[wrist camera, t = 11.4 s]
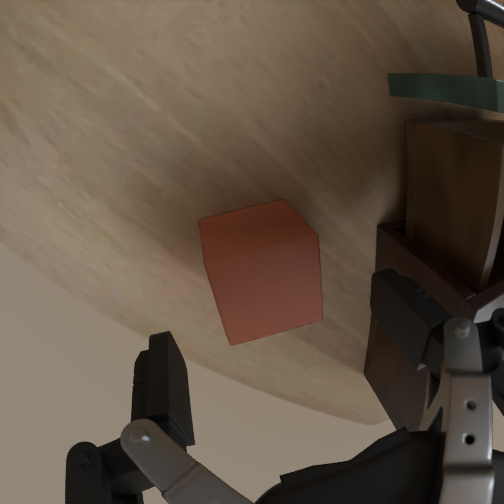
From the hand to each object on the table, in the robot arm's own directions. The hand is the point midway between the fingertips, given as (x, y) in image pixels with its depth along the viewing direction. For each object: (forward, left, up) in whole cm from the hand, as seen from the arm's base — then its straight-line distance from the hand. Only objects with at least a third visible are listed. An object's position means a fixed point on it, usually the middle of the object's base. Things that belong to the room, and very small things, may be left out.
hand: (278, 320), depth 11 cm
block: (0, 0, -6) cm, 6 cm away
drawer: (-4, +14, -5) cm, 15 cm away
